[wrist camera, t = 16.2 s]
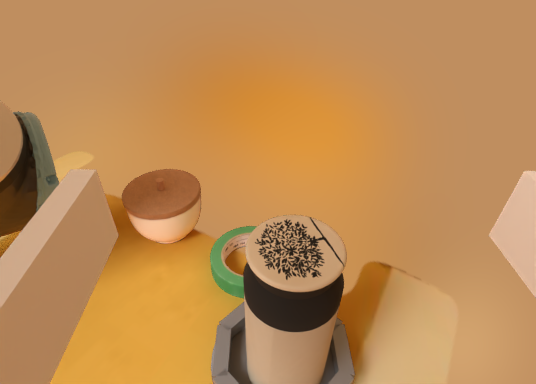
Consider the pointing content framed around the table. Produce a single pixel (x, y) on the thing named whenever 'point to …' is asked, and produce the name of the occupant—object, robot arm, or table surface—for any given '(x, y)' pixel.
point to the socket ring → (235, 355)
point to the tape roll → (219, 253)
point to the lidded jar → (163, 204)
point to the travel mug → (291, 298)
